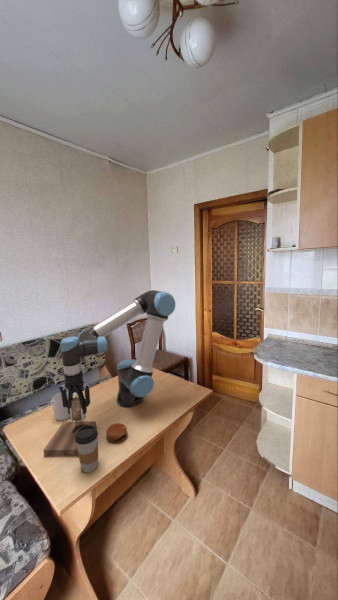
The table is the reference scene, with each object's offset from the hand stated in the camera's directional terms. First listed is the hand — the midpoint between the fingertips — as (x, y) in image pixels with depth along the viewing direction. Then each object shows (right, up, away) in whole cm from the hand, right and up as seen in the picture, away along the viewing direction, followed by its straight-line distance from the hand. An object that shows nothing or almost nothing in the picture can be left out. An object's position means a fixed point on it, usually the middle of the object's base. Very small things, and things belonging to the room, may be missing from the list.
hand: (78, 419), depth 113 cm
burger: (+18, -7, -1) cm, 19 cm away
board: (-2, -8, -3) cm, 9 cm away
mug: (-12, -6, +17) cm, 21 cm away
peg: (0, -2, 0) cm, 2 cm away
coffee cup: (+11, -10, -17) cm, 22 cm away
